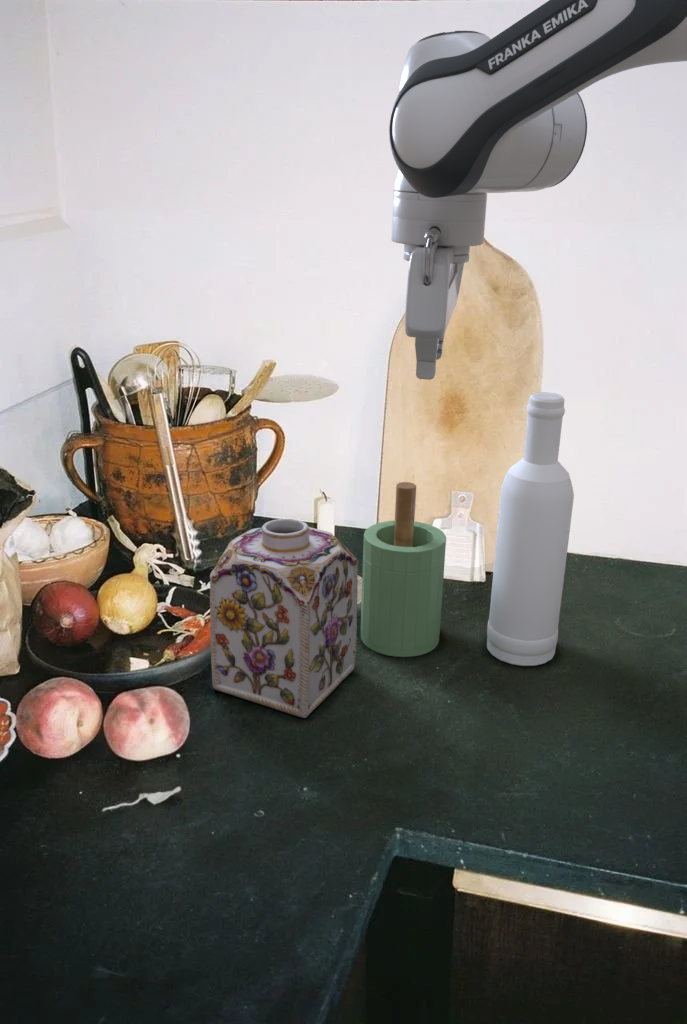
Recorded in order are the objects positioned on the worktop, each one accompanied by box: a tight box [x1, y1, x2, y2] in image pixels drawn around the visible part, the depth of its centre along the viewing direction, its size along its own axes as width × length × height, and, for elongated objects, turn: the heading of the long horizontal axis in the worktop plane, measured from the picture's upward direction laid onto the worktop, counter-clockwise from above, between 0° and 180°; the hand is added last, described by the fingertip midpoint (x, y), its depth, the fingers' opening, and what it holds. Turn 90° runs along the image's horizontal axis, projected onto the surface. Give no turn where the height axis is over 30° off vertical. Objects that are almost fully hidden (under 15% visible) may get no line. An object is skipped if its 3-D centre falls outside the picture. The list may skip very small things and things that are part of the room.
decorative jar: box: [209, 518, 359, 719], centre depth 97 cm, size 12×12×18 cm
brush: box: [394, 481, 417, 547], centre depth 107 cm, size 4×4×18 cm
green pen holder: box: [360, 520, 447, 658], centre depth 108 cm, size 9×9×13 cm
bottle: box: [486, 391, 575, 667], centre depth 103 cm, size 8×8×30 cm
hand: (429, 367), depth 94 cm, fingers open, 8 cm apart
